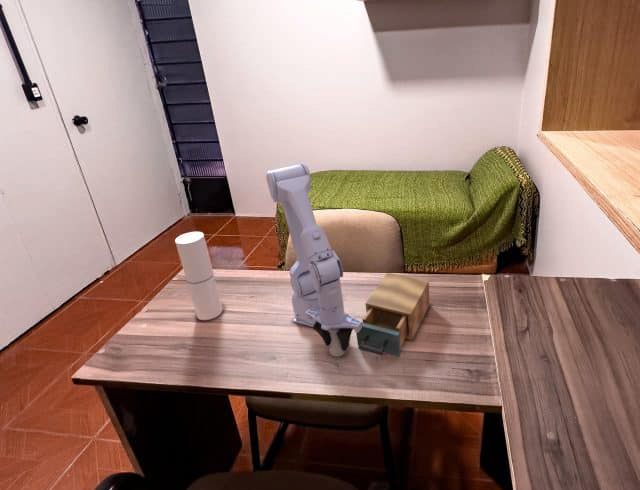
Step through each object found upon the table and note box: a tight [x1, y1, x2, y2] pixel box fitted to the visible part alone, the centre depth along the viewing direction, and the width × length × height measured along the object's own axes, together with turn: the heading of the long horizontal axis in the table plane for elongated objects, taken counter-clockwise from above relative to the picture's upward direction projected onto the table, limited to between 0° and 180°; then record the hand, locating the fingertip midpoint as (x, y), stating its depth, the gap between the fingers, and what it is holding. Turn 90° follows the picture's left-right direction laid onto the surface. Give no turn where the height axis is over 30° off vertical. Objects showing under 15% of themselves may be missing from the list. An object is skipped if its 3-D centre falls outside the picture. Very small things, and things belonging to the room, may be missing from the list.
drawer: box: [355, 307, 409, 358], centre depth 99 cm, size 18×11×7 cm, turn 156°
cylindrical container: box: [174, 231, 224, 321], centre depth 111 cm, size 7×7×25 cm
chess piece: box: [328, 328, 348, 357], centre depth 97 cm, size 4×4×8 cm
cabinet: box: [365, 272, 430, 341], centre depth 107 cm, size 15×13×9 cm
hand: (337, 345), depth 98 cm, fingers closed on chess piece, 4 cm apart
